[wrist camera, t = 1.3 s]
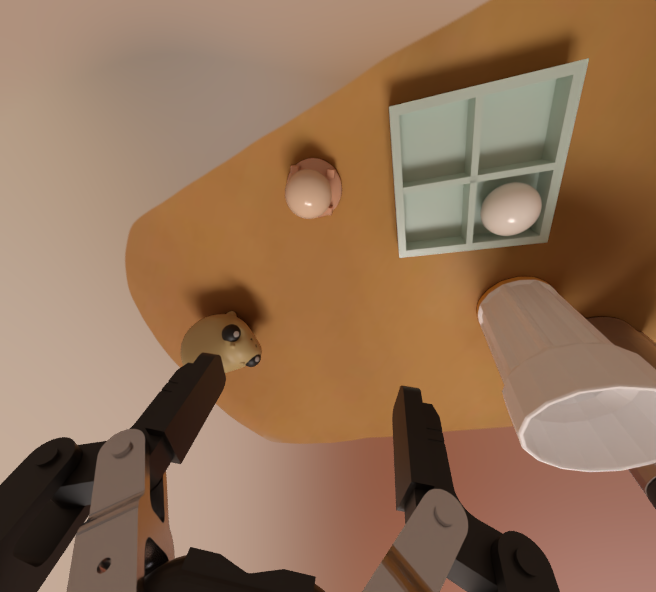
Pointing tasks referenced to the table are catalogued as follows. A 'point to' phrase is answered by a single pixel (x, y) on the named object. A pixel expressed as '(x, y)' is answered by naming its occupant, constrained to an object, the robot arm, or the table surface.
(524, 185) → the cream egg
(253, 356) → the yellow toy animal head
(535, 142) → the egg tray
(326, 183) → the brown egg
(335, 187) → the egg cup
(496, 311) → the cup
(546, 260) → the table surface
